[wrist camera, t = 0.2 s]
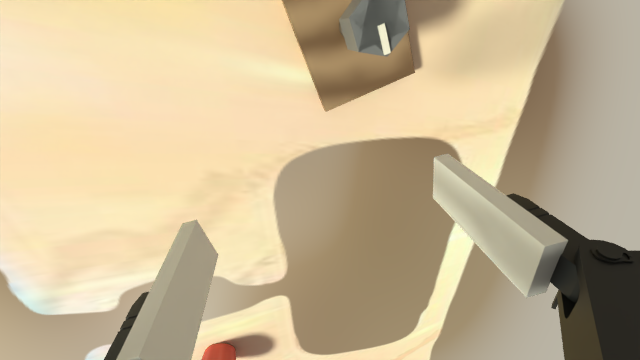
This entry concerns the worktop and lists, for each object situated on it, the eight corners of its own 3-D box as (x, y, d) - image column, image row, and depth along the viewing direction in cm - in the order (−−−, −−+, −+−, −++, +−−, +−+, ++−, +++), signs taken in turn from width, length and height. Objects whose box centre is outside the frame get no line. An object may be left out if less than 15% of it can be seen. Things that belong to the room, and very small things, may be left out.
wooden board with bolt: (269, -32, 30) (267, -50, 23) (379, -86, 29) (411, -121, 22) (323, 108, 39) (333, 124, 33) (408, 70, 39) (437, 79, 32)
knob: (334, 3, 26) (344, -2, 22) (381, -20, 26) (401, -29, 22) (351, 62, 29) (363, 68, 25) (394, 43, 29) (413, 45, 25)
